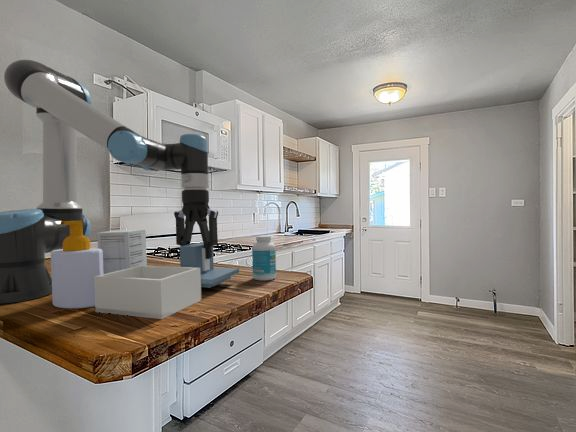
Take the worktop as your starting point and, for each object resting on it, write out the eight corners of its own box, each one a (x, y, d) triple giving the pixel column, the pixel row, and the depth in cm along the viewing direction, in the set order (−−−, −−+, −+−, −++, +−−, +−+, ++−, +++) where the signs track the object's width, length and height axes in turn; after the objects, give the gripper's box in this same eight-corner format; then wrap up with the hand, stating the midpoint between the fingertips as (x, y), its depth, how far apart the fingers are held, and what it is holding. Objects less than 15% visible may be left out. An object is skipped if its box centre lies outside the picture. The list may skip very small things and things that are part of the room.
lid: (152, 285, 89) (151, 247, 89) (186, 274, 103) (185, 241, 103) (212, 289, 83) (211, 248, 83) (239, 277, 97) (238, 242, 97)
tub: (95, 312, 71) (94, 276, 71) (142, 295, 85) (141, 265, 84) (162, 319, 66) (160, 280, 65) (201, 300, 79) (200, 267, 79)
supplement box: (149, 284, 97) (147, 229, 97) (131, 292, 88) (129, 231, 87) (119, 284, 98) (117, 229, 98) (98, 292, 89) (96, 232, 88)
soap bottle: (41, 307, 76) (38, 221, 76) (73, 297, 84) (70, 220, 84) (85, 310, 73) (82, 221, 72) (114, 300, 81) (111, 219, 80)
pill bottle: (275, 281, 98) (274, 236, 98) (251, 281, 98) (250, 237, 98) (276, 275, 105) (275, 234, 105) (254, 276, 105) (253, 235, 105)
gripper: (160, 190, 92) (163, 271, 92) (215, 187, 86) (218, 273, 87) (177, 191, 99) (179, 266, 99) (229, 188, 93) (231, 268, 94)
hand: (197, 269), depth 93 cm, fingers closed on lid, 5 cm apart
